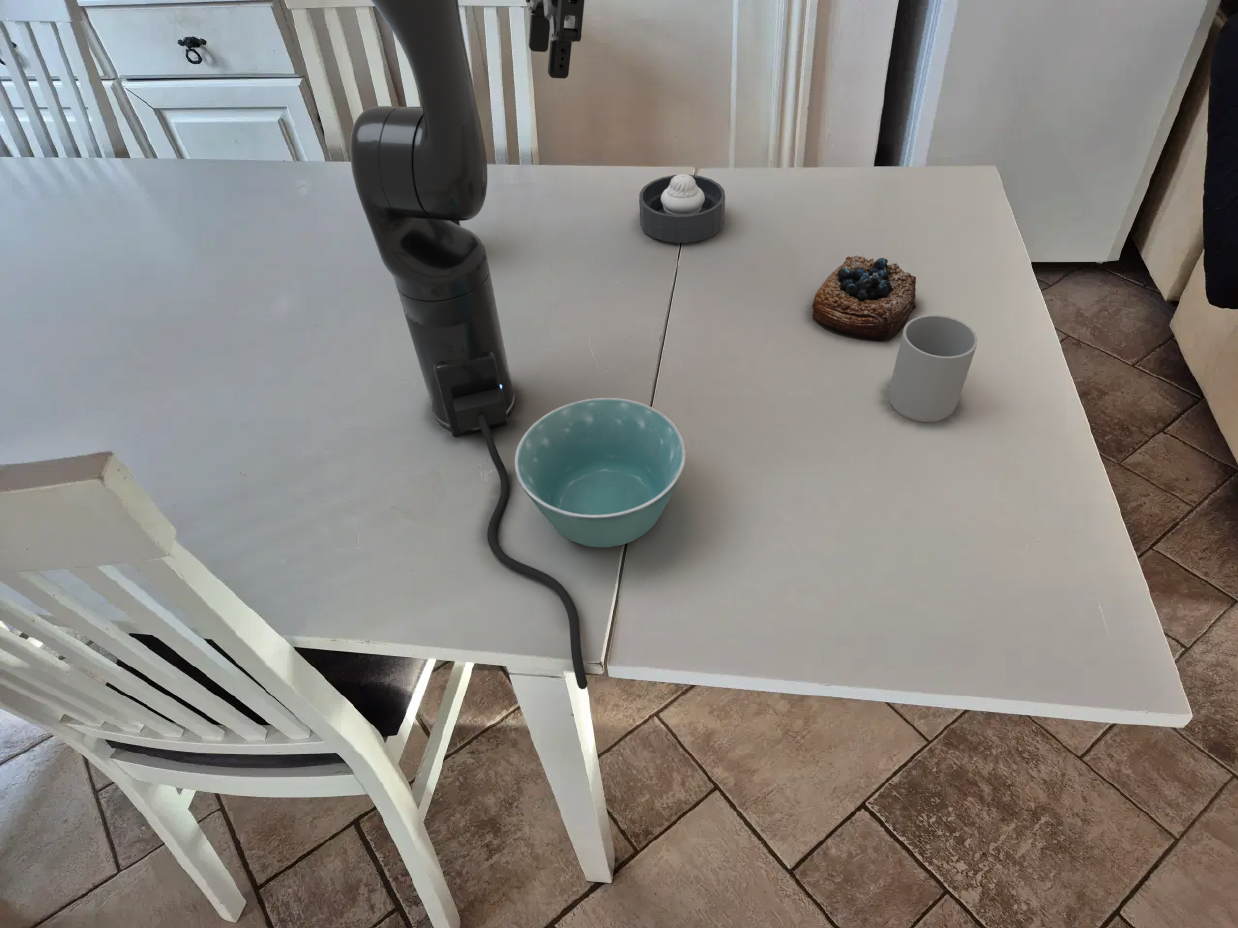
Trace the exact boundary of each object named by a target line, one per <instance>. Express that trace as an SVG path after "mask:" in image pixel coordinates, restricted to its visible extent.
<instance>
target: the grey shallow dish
mask: <svg viewBox="0 0 1238 928" xmlns="http://www.w3.org/2000/svg"><path fill="white" fill-rule="evenodd" d="M677 175H678V174H673V175H667V176H663V177H659V178H657V179H654V180H652V181H649V182H648V183H647V184H646V185H644V186H643V187H642V189H641V190H640V192H639V196H638V202H639V226H640V228H641V229H642V230H643V232H644V233H645V234H647V235H648V236H649V237H651V238H654V239H657V240H659V241H663V242H667V243H673V244H674V243H675V244H684V243H685V244H686V243H687V244H688V243H694V242H698V241H702V240H705V239H708V238H710V237H713V236H715V234H717V233H718V232H719V231H720V230H721V229H722V228H723V226H724V224H725V214H726V213H725V212H726V211H725V209H726V192H725V189H724V187H723V186H722V185H721V184H720V183H718V182H716V181H715V180H713V179H711V178H708V177H705V176H702V175H696V174H695V175H694V174H689V175H690V176H692V177H693V178H694V180H695V182H696V185H697V186H698V187H699V188H700V189H701V190H702V191H703V193H704V196H705V201H704V203H703V205H702V208H701V210H700V212H699V213H696V214H691V215H671V214H666V212H665V210H664V207H663V204H662V202H661V195H662V193H663V192H664V190H665V189H667V188H668V186H669V185H670V182H671V179H672V178H674V176H677Z"/></svg>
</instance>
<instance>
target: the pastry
mask: <svg viewBox="0 0 1238 928" xmlns="http://www.w3.org/2000/svg"><path fill="white" fill-rule="evenodd" d="M888 263H889V260H888V258H885V257H879V258H877V259H876V260H874V259H873V258H869V259H868V258H866V257H863V256H858V255H855V256H854V255H852V256H846V257H845V261H844V262H843V264H841V265H840V266H838V267H837V268H836V269H835V270H834V271H832V272H831V274H829V276H828V277H827V278H826V279H825V280H824V282H823V283H822V284H821V286H820V287H819V289H818V290H817V292H816V293H815V295H814V298H813V302H812V306H811V308H812V310H813V311H812V313H811V315H812V320H814V322H815V323H817V325H819V326H820V327H821V328H823V329H825V330H826V331H829V332H831V333H833V334H835V335H839V336H842V337H845V338H848V339H849V338H850V339H853V340H859V341H868V342H877V343H878V342H880V343H884V342H885V343H886V342H889V341H891V340H892V339H894V338H895V337H896V336H897V335H898V334H899V333H900V332H902V331H903V329H904V327H905V326H906V324H907V323H908V320H909V318H910V316H911V314H912V313H913V312H914V310H915V309H916V308H917V306H918V305H917V303H916V292H917V288H916V286H917V285H916V284H917V276H915V275H912V274H911V273H910V272H907V271H905V272H904V270H903V269H902V268H901V267H900V265H899V264H897V262H896V263H891V264H888Z"/></svg>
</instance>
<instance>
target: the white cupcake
mask: <svg viewBox="0 0 1238 928" xmlns="http://www.w3.org/2000/svg"><path fill="white" fill-rule="evenodd" d="M676 175H677V176H674V178H672V179H671V182H670V185H669V186H668V188H667V189H665V190H664V192H663V193H662V195H661V202H662V204H663V207H664V210H665V212H666V214H671V215H691V214H696V213H699V212H700V210H701V208H702V205H703V203H704V201H705V196H704V193H703V191H702V190H701V189H700V188H699V187H698V186H697V185H696V182H695V180H694V178H693V177H692V176H690V175H691V174H686V173H680V174H676Z"/></svg>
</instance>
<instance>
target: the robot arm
mask: <svg viewBox="0 0 1238 928" xmlns="http://www.w3.org/2000/svg"><path fill="white" fill-rule="evenodd" d="M370 1H371V2H372V4H373V6H375V9H377V11H378V13H380V15H381V16H382V18H383V19H384V21H385V22H386V23H387V25H388V27H389V28H390V30H391V31H392V32H393V34H394V36H395V38H396V40H397V41H398V43H399V45H400V47H401V48H402V51H403V53H404V54H405V55H404V56H405V57H406V59H407V63H408V64H409V67H410V71H411V73H412V75H413V80H414V81H415V85H416V88H417V89H416V90H417V93H418V97H419V100H420V104H421V107H422V108H414V107H415V106H394V105H393V106H392V105H377V106H372V107H369V108H367V109H365V110H363V111H362V112H361V113H360V114H359V115H358V116H357V118H356V120H355V121H354V124H353V127H352V130H351V134H350V141H349V142H350V143H349V158H350V165H351V172H352V173H351V174H352V178H353V181H354V185H355V188H356V192H357V194H358V198H359V201H360V203H361V207H362V209H363V211H364V214H365V217H366V220H367V223H368V225H369V228H370V230H371V233H372V236H373V239H374V242H375V245H376V247H377V250H378V253H379V256H380V258H381V261H382V263H383V264H384V266H385V268H386V269H387V271H388V272H389V273H390V274H391V275H392V277H393V280H394V284H395V286H396V289H397V293H398V296H399V300H400V303H401V306H402V310H403V313H404V317H405V321H406V323H407V328H408V331H409V334H410V338H411V341H412V345H413V347H414V351H415V354H416V358H417V360H418V364H419V367H420V368H419V369H420V371H421V375H422V378H423V381H424V385H425V387H426V388H425V389H426V391H427V395H428V398H429V401H430V404H431V405H430V406H431V411H432V414H433V417H434V419H435V421H436V422H437V423H438V424H439V425H440V426H442V427H443V428H445V429H447V430H450V431H451V435H452V436H453V437H457V436H463V435H467V434H473V433H475V432H480V431H481V433H482V436H483V438H484V441H485V444H486V447H487V449H488V452H489V454H490V458H491V461H492V462H493V465H494V466H495V468H496V471H497V474H498V476H499V480H500V492H499V493H500V494H499V498H498V501H497V503H496V506H495V508H494V511H493V512H492V515H491V517H490V520H489V523H488V526H487V531H486V532H487V533H486V536H487V543H488V546H489V548H490V550H491V552H492V554H493V555H494V556H495V557H496V559H497V560H498V561H499V562H501V563H502V564H503V565H504V566H506V567H508V568H509V569H511V570H514V571H515V572H518V573H520V574H523V575H524V576H527V577H529V578H532V579H534V580H536V581H539V582H541V583H542V584H544V585H546V586H547V587H549V588H550V589H551V590H553V592H555V593H556V594H557V596H558V597H559V599H560V600H561V602H562V604H563V606H564V608H565V611H566V613H567V617H568V622H569V623H568V624H569V625H568V626H569V639H570V641H569V642H570V653H571V661H572V667H573V672H574V678H575V681H576V685H577V687H578V688H579V689H580V690H585V689H587V688H588V684H589V682H588V679H587V675H586V671H585V665H584V660H583V653H582V641H581V627H580V619H579V614H578V610H577V607H576V605H575V601H574V600H573V598H572V597H571V595H570V594H569V592H568V591H567V590H566V588H565V587H564V586H563V585H562V584H561V583H560V582H559V581H558V580H557V579H555V578H554V577H552V576H551V575H550V574H547V573H545V572H544V571H542V570H539V569H538V568H537V569H536V568H534V567H532V566H529V565H527V564H525V563H522V562H520V561H518V560H515V559H514V558H512V557H510V556H509V555H508V554H506V553H505V551H504V550H502V548H501V546H500V544H499V542H498V539H497V529H498V526H499V523H500V520H501V518H502V515H503V514H504V511H505V509H506V505H507V503H508V499H509V494H510V481H509V480H510V479H509V475H508V471H507V469H506V466H505V464H504V462H503V460H502V458H501V455H500V453H499V450H498V448H497V445H496V442H495V439H494V437H493V434H492V431H491V429H493V428H497V427H501V426H505V425H508V423H509V420H508V417H509V415H511V413H512V411H513V410H514V409H515V408H514V407H515V405H516V393H515V389H514V387H513V384H512V383H513V382H512V378H511V373H510V368H509V363H508V359H507V354H506V349H505V348H506V347H505V342H504V338H503V332H502V327H501V323H500V317H499V311H498V307H497V303H496V302H497V301H496V297H495V291H494V286H493V281H492V276H491V270H490V265H489V260H488V255H487V254H488V253H487V250H486V247H485V245H484V243H483V241H482V240H481V238H480V237H479V236H478V235H477V234H475V233H474V232H472V231H471V230H470V229H467V228H465V227H463V226H461V225H460V226H459V225H457V224H455V223H453V222H451V221H459V222H462V221H469V220H472V219H474V218H475V217H477V216H478V215H479V214H480V212H481V210H482V209H483V206H484V203H485V201H486V196H487V190H488V158H487V151H486V150H487V149H486V143H485V137H484V131H483V126H482V119H481V114H480V110H479V104H478V100H477V95H476V90H475V86H474V81H473V77H472V71H471V66H470V62H469V56H468V52H467V46H466V41H465V36H464V30H463V24H462V18H461V12H460V5H459V0H370ZM525 2H526V3H528V9H527V10H528V12H529V14H530V19H529V20H530V21H529V33H528V48H529V49H530V51H532V52H537V53H546V52H547V51H548V64H547V74H548V76H549V77H550V78H552V79H563V80H564V79H567V78H568V77H569V73H570V65H571V56H572V55H571V53H572V46H573V45H572V44H573V43H575V42H578V43H579V42H581V40H582V33H583V21H584V10H585V0H525ZM565 22H566V27H565Z"/></svg>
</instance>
